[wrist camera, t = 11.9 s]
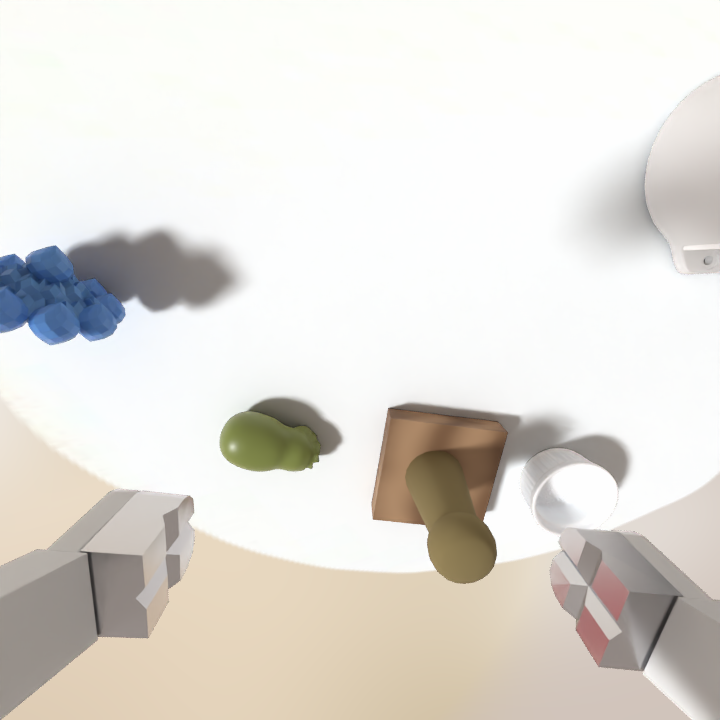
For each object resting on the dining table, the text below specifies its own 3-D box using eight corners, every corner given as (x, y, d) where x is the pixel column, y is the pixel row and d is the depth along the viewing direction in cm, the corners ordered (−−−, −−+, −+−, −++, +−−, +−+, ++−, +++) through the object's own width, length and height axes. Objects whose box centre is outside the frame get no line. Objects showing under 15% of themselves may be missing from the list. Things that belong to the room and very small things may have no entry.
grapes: (172, 277, 32) (69, 283, 20) (151, 341, 34) (45, 380, 22) (46, 220, 30) (-142, 191, 19) (30, 289, 32) (-152, 302, 20)
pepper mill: (397, 461, 35) (417, 546, 24) (454, 443, 34) (499, 521, 24) (414, 508, 36) (440, 607, 26) (469, 491, 36) (517, 584, 25)
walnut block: (497, 421, 37) (507, 432, 34) (472, 514, 40) (480, 530, 37) (388, 408, 36) (390, 418, 34) (371, 503, 39) (372, 519, 37)
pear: (223, 420, 30) (329, 446, 33) (234, 396, 35) (325, 420, 38) (207, 472, 31) (310, 493, 34) (219, 441, 36) (308, 462, 39)
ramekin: (561, 427, 37) (587, 447, 33) (605, 477, 39) (636, 502, 35) (497, 476, 39) (515, 502, 34) (543, 522, 40) (565, 552, 36)
